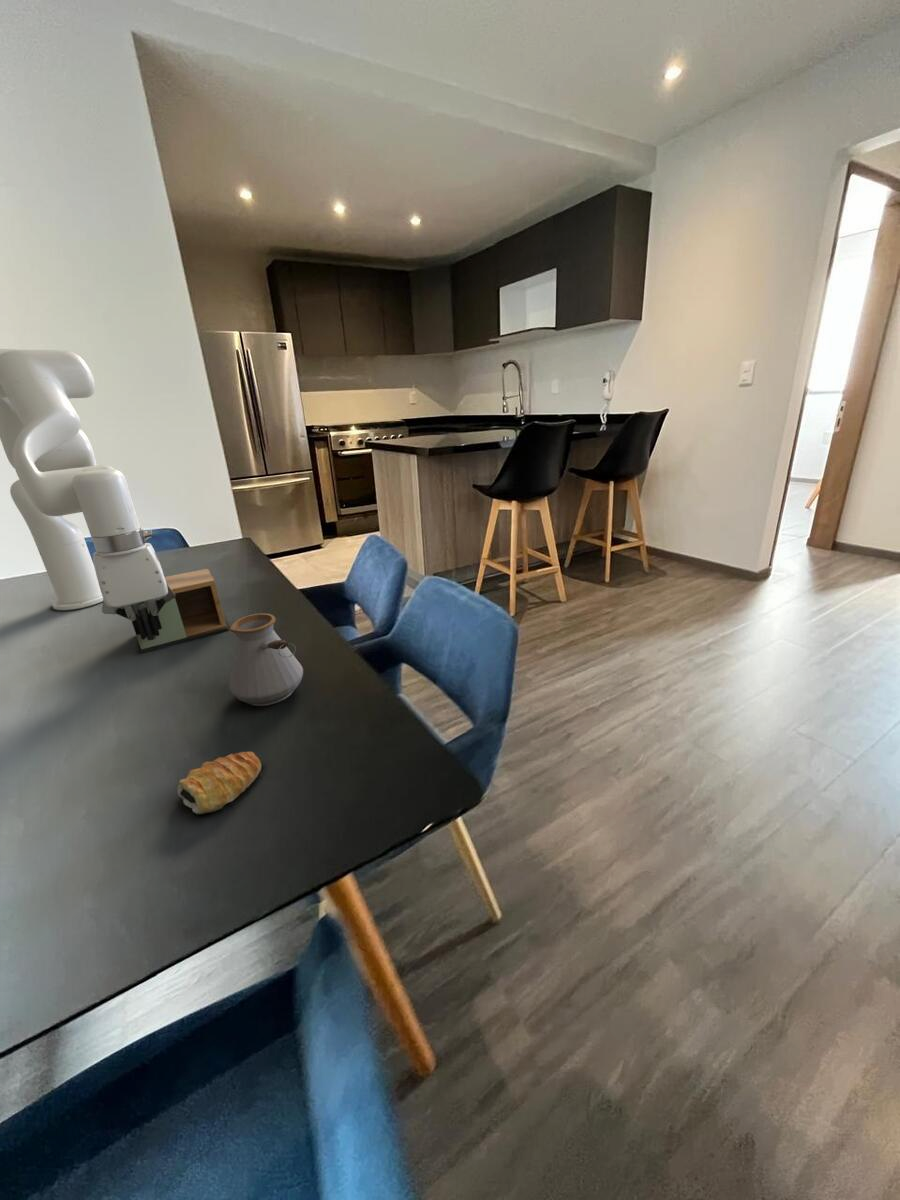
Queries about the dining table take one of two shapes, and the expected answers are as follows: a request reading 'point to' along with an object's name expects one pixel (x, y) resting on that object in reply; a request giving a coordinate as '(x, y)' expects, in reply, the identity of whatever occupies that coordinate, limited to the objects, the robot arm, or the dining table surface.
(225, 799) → the pastry
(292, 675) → the coffee pot
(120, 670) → the dining table surface
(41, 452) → the robot arm
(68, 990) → the dining table surface
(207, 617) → the cabinet
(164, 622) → the sliding door
